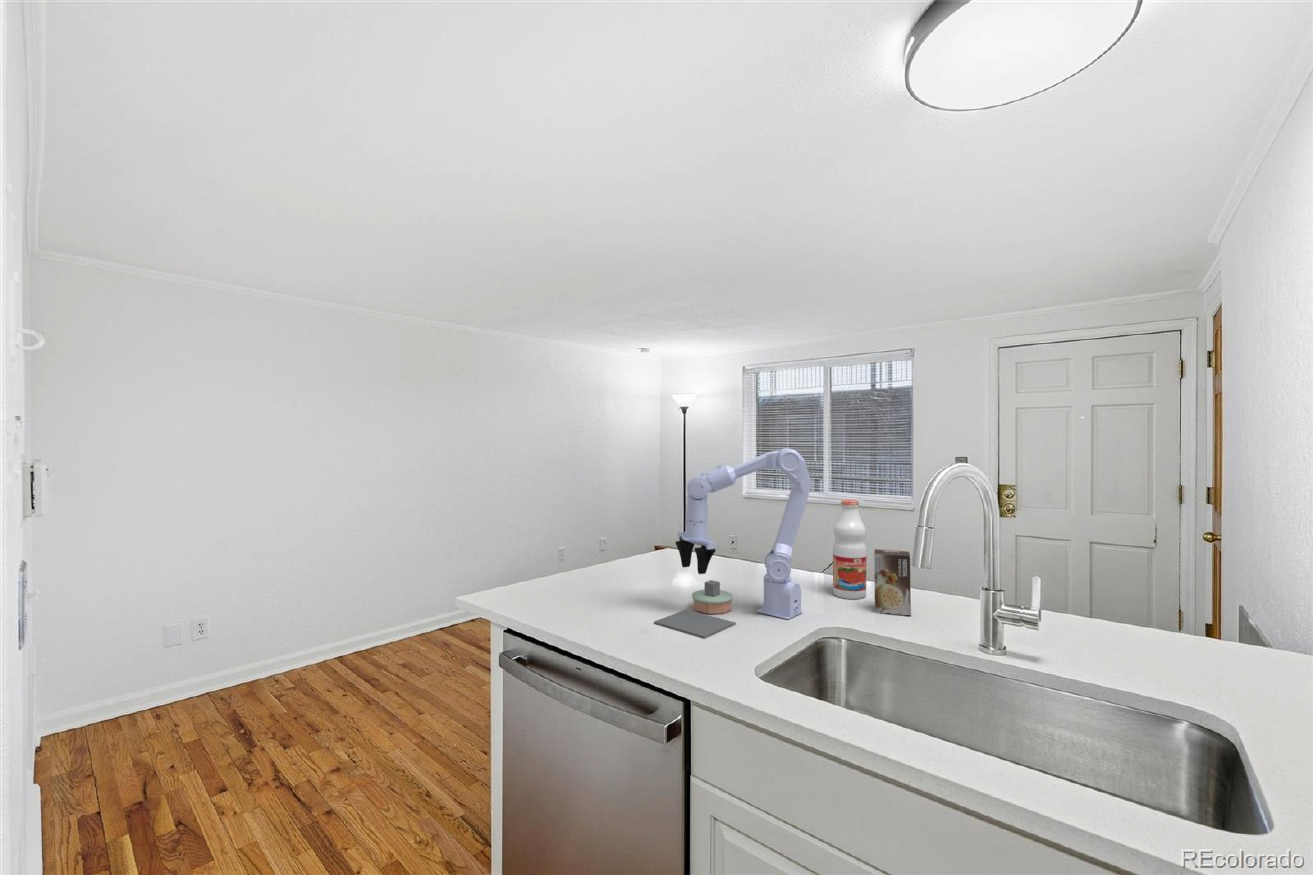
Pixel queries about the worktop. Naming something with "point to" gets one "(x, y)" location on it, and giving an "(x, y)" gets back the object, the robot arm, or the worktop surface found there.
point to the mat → (695, 623)
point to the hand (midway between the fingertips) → (693, 570)
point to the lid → (712, 594)
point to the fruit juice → (849, 553)
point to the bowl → (712, 607)
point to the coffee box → (892, 582)
